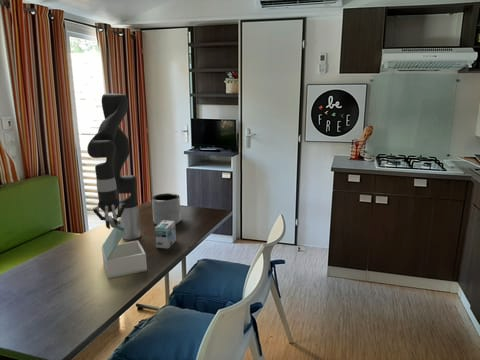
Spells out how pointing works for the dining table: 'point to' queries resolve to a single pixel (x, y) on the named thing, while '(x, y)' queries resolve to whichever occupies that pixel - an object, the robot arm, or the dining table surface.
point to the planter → (166, 208)
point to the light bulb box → (165, 234)
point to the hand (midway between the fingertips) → (112, 227)
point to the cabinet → (125, 260)
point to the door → (113, 237)
